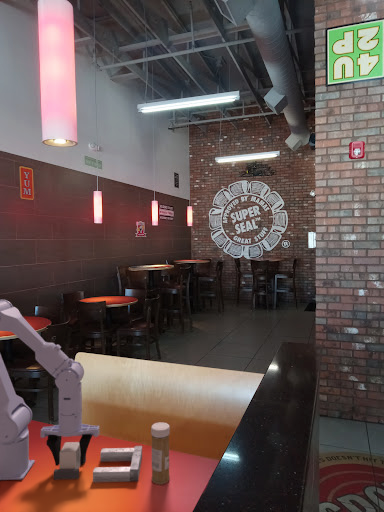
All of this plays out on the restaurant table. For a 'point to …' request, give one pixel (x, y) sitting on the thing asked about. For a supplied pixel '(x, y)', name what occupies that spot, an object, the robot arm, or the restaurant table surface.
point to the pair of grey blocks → (66, 473)
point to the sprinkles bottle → (160, 452)
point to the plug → (70, 456)
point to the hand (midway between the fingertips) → (70, 463)
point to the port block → (119, 472)
